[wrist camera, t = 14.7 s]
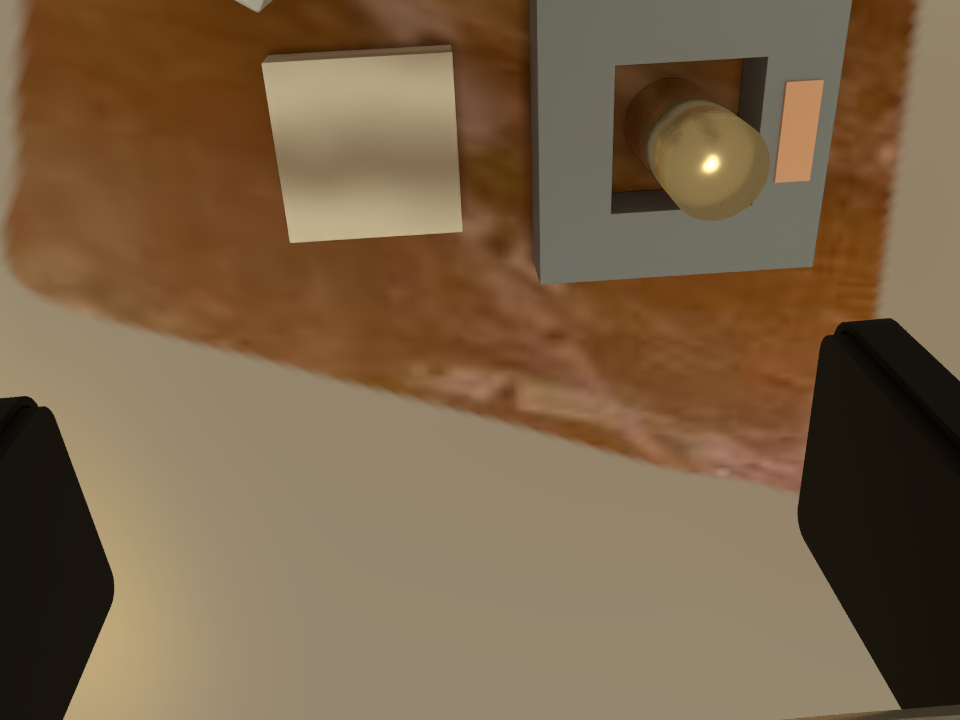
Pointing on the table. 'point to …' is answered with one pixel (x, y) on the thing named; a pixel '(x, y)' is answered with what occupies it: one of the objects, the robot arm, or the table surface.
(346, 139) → the beige square plate
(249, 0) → the supplement box
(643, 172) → the table surface
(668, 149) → the brass peg
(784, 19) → the hole plate
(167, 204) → the table surface
